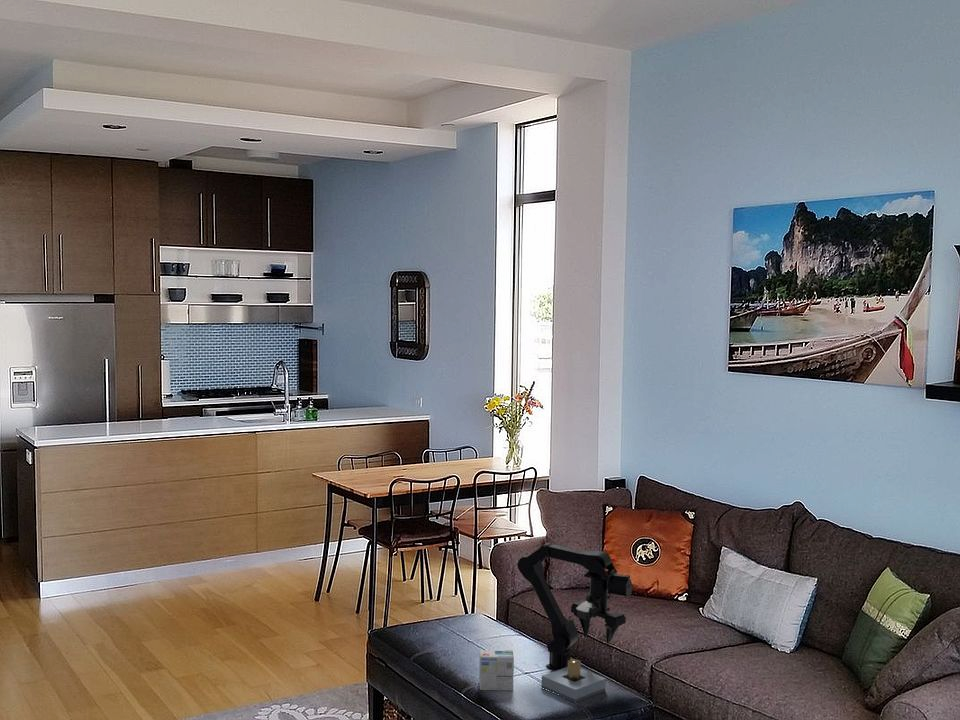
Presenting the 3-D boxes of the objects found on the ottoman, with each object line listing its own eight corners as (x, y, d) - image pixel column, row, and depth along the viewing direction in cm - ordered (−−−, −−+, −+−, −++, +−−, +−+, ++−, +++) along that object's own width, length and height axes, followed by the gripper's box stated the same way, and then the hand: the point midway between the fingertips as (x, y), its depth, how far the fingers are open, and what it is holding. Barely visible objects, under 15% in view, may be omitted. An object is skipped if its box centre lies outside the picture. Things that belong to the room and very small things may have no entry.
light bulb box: (512, 682, 325) (513, 649, 324) (513, 691, 318) (514, 657, 317) (478, 682, 324) (479, 648, 323) (479, 690, 318) (480, 656, 317)
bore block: (541, 688, 321) (541, 675, 320) (571, 677, 330) (571, 665, 330) (575, 702, 311) (575, 689, 310) (605, 690, 320) (605, 678, 320)
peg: (564, 685, 321) (565, 660, 320) (572, 682, 323) (573, 658, 322) (573, 690, 318) (574, 664, 317) (582, 686, 320) (583, 661, 320)
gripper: (560, 589, 331) (558, 636, 332) (605, 604, 318) (603, 653, 319) (583, 583, 339) (581, 629, 340) (627, 597, 325) (625, 645, 327)
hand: (596, 639), depth 331 cm, fingers open, 9 cm apart
